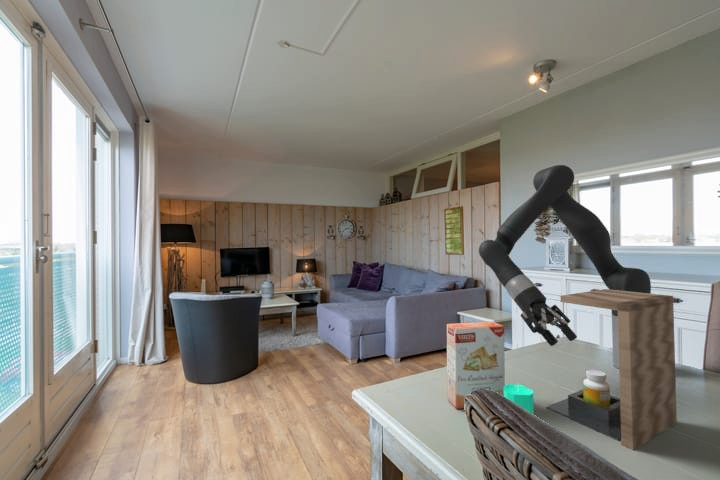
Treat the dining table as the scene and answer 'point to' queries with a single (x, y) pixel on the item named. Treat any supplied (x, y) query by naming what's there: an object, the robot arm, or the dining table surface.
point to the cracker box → (474, 359)
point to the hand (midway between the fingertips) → (564, 341)
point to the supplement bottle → (596, 388)
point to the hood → (641, 360)
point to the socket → (591, 413)
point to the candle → (520, 396)
